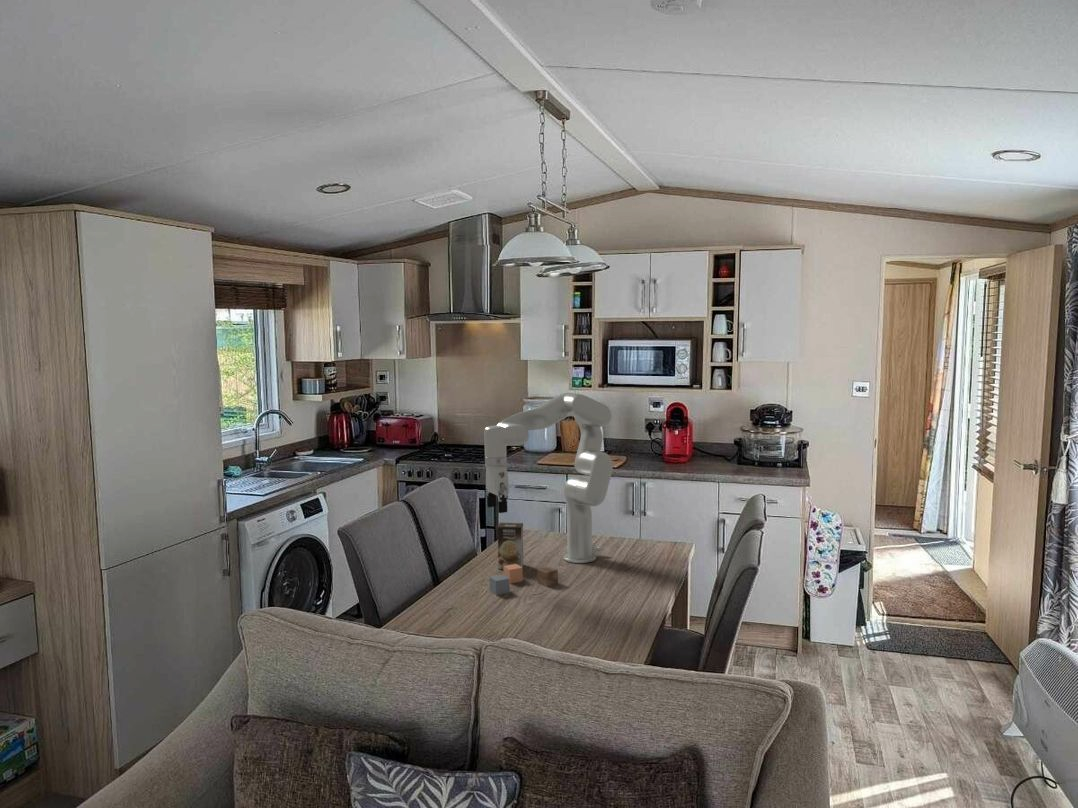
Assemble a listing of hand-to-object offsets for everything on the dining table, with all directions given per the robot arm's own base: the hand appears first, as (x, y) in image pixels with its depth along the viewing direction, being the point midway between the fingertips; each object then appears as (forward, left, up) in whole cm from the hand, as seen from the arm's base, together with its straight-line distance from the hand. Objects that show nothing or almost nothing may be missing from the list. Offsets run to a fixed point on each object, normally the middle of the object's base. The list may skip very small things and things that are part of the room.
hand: (497, 509), depth 264 cm
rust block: (-4, +3, -26) cm, 26 cm away
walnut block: (-13, +12, -26) cm, 31 cm away
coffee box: (-10, -11, -26) cm, 30 cm away
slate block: (+5, +11, -26) cm, 28 cm away
